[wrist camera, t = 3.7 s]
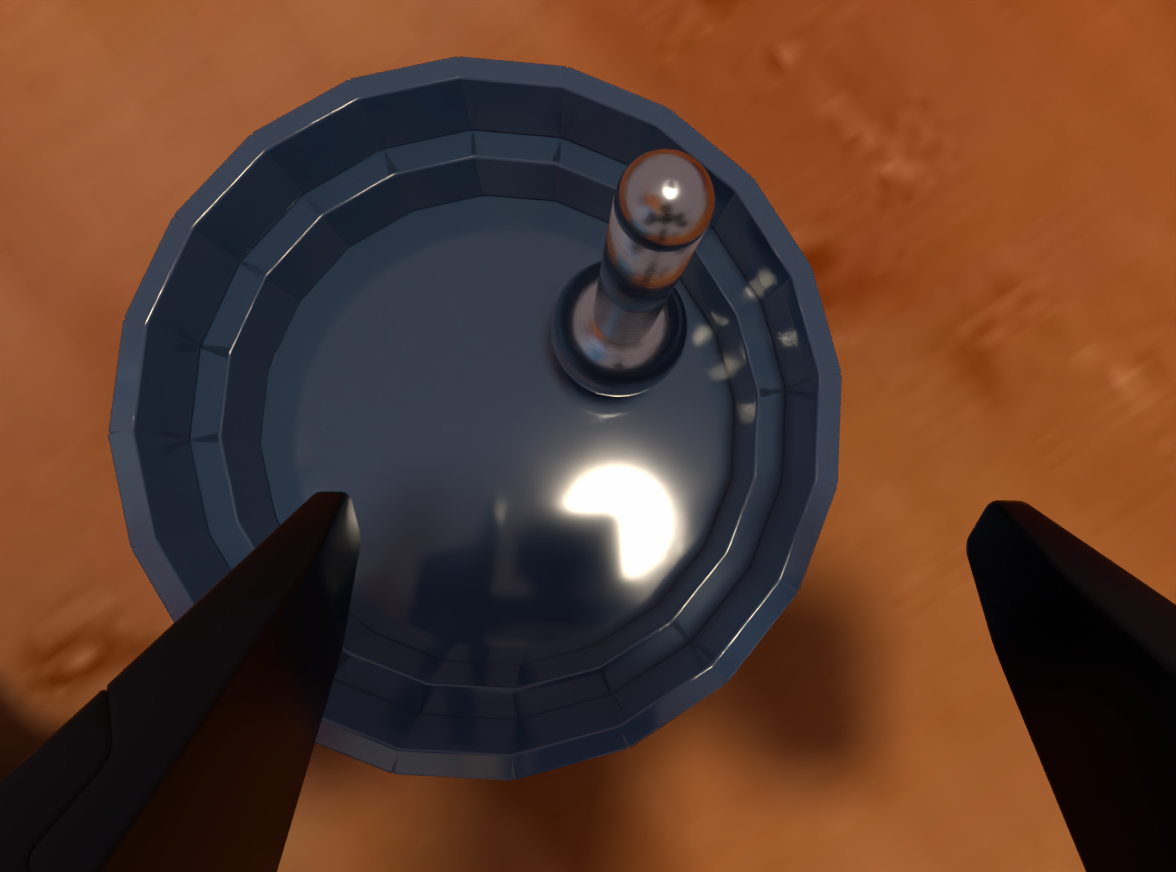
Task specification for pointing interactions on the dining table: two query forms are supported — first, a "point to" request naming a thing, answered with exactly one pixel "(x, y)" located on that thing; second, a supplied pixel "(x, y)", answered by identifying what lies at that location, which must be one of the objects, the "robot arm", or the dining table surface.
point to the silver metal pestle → (636, 279)
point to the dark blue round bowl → (479, 414)
